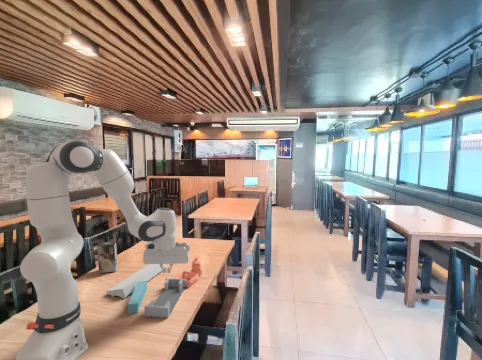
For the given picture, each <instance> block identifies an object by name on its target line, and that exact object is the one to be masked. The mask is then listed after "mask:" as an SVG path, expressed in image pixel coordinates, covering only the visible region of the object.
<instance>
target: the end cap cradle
mask: <svg viewBox="0 0 482 360" xmlns="http://www.w3.org/2000/svg"><path fill="white" fill-rule="evenodd" d="M185 288H186V287H185V278H183V279H179V278H174V277H165V281H164V288H163V289H162V291H161V292H160V293H159V295H158V296H157V298H156V299H155V300H154V299H151V301H150V302H149V303H148V305H146V304H145V305H144V307H143V309H144V318H163V319H165V318H167V319H168V318H170V316H171V313H172V312H173V311H174V309H175V307H176V304H177V303H178V301H179V299H180V298H181V297H182V294H183V292H184V291H185Z"/></svg>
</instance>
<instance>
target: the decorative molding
mask: <svg viewBox="0 0 482 360" xmlns="http://www.w3.org/2000/svg"><path fill="white" fill-rule="evenodd" d="M163 266H164V267H165V268H166V269H167V264H163ZM160 273H162V269H161V267H160V264H146V265H145V266H144V267H142V268H140V269H139V270H138V271H136V272H134V273H133V274H131V275H130V276H129V277H127V278H125V279H123V280H122V281H120V282H119V283H116V285H114V286H112V287H111V288H109V289H108V290H106V293H107V295H108V296H111V298H112V297H113V298H114V297H119V298H121V299H126V298H127V297H128V296H130V295H132V294H133V292H134V290H135V287H136V285H137V283H138V281H147V283H148V282H149V281H151V279H153V278H154V277H156V276H157V275H158V274H160Z"/></svg>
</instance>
